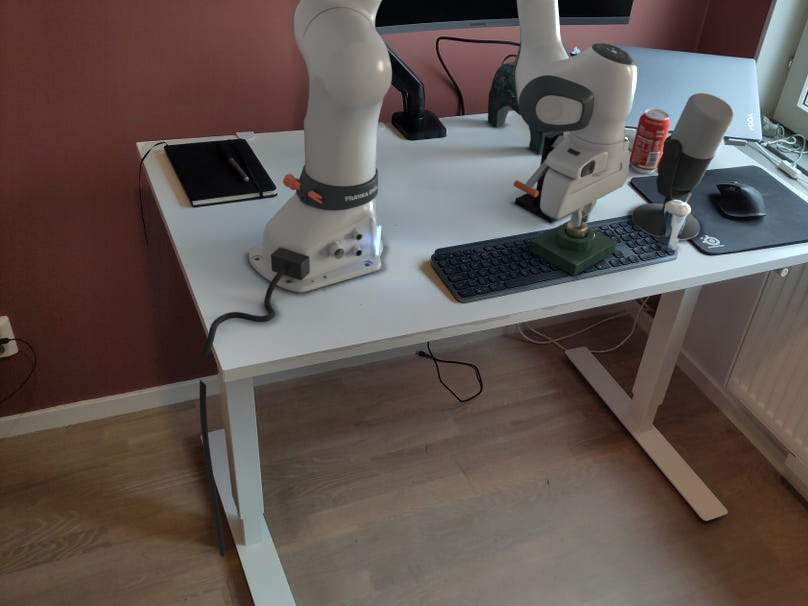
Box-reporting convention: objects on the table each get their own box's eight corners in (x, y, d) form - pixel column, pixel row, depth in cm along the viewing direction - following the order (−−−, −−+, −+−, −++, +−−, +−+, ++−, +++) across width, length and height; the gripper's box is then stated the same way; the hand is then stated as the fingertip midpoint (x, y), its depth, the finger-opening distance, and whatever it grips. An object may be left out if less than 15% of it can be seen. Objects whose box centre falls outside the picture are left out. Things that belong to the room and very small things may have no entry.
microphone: (671, 248, 151) (710, 118, 135) (618, 216, 158) (649, 89, 142) (712, 228, 158) (754, 103, 142) (660, 199, 165) (694, 76, 149)
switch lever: (535, 200, 149) (533, 192, 147) (515, 189, 151) (511, 181, 149) (577, 150, 151) (575, 142, 149) (556, 140, 153) (554, 132, 151)
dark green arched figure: (559, 154, 176) (576, 60, 163) (537, 160, 173) (552, 65, 160) (500, 117, 187) (512, 27, 174) (478, 123, 184) (488, 31, 171)
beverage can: (655, 162, 178) (669, 109, 170) (659, 176, 173) (674, 121, 165) (626, 159, 178) (639, 105, 170) (630, 172, 173) (643, 118, 165)
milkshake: (686, 247, 152) (701, 198, 145) (669, 256, 149) (683, 207, 142) (666, 236, 154) (680, 188, 148) (649, 244, 151) (662, 196, 145)
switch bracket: (550, 223, 153) (563, 155, 144) (514, 203, 157) (524, 136, 149) (586, 205, 160) (600, 139, 151) (550, 187, 164) (562, 121, 155)
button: (577, 242, 142) (579, 233, 141) (561, 233, 144) (563, 224, 143) (590, 235, 144) (592, 226, 143) (573, 226, 146) (575, 217, 145)
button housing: (573, 276, 140) (577, 256, 138) (529, 250, 145) (532, 231, 143) (614, 252, 148) (619, 233, 145) (570, 229, 152) (574, 210, 150)
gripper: (615, 126, 142) (599, 197, 151) (540, 158, 129) (527, 234, 138) (645, 139, 139) (627, 211, 148) (571, 174, 126) (557, 250, 135)
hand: (578, 223), depth 143 cm, fingers closed
